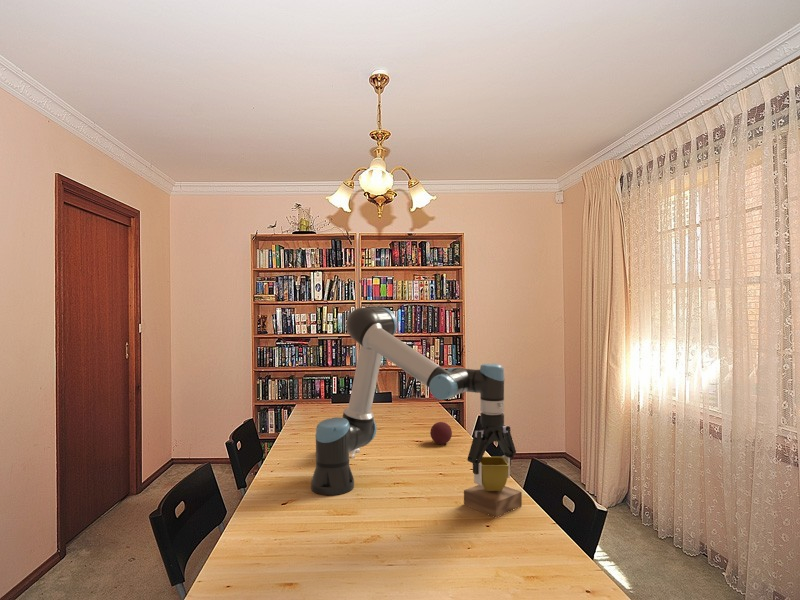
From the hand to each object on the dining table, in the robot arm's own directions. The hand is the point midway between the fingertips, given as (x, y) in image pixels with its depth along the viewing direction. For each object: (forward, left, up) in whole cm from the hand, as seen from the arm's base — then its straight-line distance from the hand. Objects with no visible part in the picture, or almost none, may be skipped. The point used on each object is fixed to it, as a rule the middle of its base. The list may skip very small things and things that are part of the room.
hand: (492, 480), depth 160 cm
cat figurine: (-15, +74, -8) cm, 76 cm away
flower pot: (0, 0, -3) cm, 3 cm away
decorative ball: (+28, +65, -8) cm, 71 cm away
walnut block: (0, 0, -8) cm, 8 cm away
